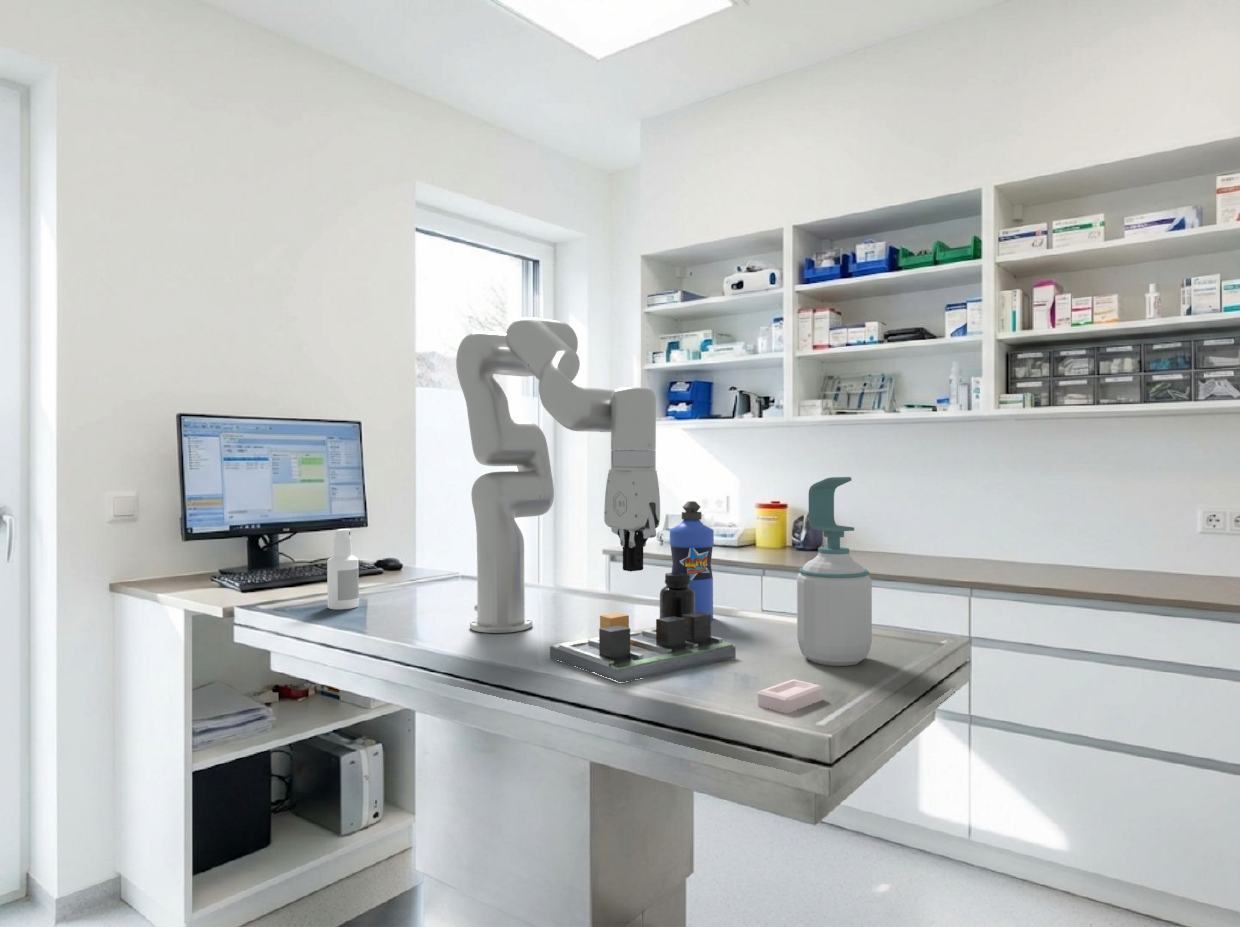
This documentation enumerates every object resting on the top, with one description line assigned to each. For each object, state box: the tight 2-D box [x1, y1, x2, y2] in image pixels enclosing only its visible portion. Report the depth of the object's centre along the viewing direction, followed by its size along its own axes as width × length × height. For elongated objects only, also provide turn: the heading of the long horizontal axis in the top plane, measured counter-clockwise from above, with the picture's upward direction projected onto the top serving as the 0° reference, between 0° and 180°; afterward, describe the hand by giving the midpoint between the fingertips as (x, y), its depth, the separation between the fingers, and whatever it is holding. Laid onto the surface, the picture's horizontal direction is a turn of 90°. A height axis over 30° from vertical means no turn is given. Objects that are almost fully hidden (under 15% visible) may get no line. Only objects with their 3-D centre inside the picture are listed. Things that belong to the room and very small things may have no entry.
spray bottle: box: [326, 528, 360, 611], centre depth 186 cm, size 7×7×18 cm
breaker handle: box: [599, 612, 630, 629], centre depth 140 cm, size 3×4×5 cm
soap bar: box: [756, 678, 824, 714], centre depth 114 cm, size 5×9×2 cm, turn 134°
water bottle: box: [669, 500, 715, 622], centre depth 171 cm, size 9×9×25 cm
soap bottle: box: [796, 476, 873, 667], centre depth 137 cm, size 12×12×31 cm
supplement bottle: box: [659, 572, 695, 619], centre depth 156 cm, size 7×7×12 cm
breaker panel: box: [549, 612, 737, 682], centre depth 139 cm, size 20×25×7 cm
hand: (633, 570), depth 136 cm, fingers closed
